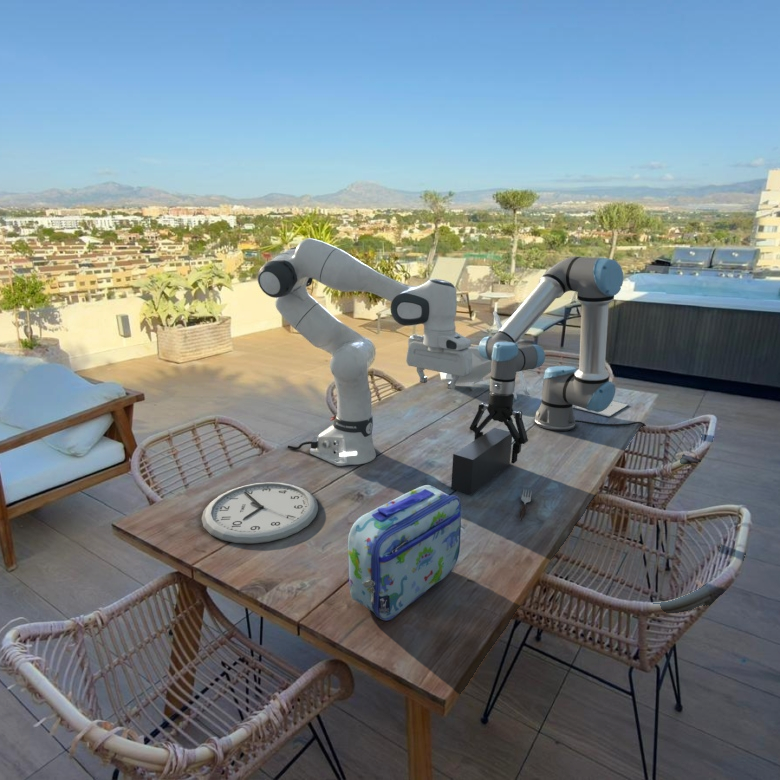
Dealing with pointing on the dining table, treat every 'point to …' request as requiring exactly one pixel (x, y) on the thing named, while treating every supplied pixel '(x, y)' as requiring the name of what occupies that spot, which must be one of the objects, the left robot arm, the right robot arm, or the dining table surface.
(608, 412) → the invitation card
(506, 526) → the dining table surface
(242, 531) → the wall clock
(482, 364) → the white plastic object
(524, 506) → the fork
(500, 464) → the box
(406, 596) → the lunch box
